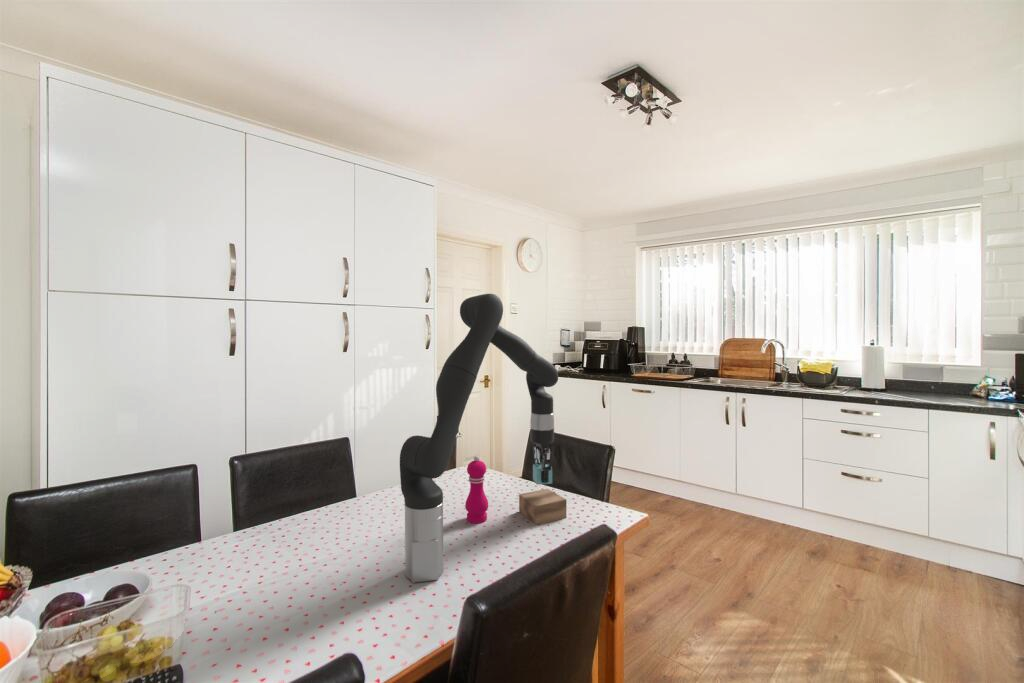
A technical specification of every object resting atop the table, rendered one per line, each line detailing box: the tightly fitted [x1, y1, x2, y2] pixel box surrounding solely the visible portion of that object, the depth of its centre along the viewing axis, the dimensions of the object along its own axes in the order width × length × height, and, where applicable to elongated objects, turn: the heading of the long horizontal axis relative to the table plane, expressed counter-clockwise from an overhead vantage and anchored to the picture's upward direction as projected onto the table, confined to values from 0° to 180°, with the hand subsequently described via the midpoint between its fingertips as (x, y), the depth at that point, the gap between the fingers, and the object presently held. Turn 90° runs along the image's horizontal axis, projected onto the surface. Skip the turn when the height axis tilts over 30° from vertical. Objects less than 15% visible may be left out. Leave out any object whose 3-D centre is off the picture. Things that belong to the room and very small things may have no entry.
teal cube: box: [532, 463, 553, 485], centre depth 148 cm, size 5×5×5 cm
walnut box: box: [518, 488, 567, 525], centre depth 148 cm, size 11×11×6 cm
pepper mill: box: [464, 455, 489, 524], centre depth 144 cm, size 7×7×20 cm
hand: (542, 479), depth 148 cm, fingers closed on teal cube, 5 cm apart
